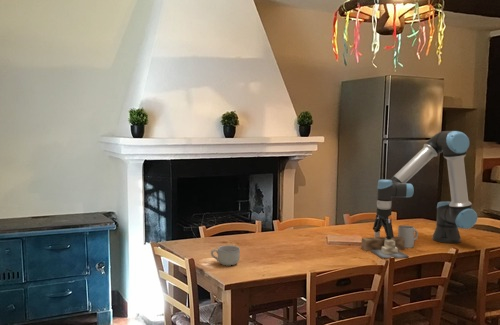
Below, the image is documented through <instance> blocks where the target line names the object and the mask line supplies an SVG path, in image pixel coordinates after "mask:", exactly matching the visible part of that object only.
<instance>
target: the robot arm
mask: <svg viewBox="0 0 500 325" xmlns="http://www.w3.org/2000/svg"><path fill="white" fill-rule="evenodd" d="M469 148H470V138H469V137H468V136H467V134H465V133H464V132H462V131H459V130H444V131H443V130H442V131H439V132H437V133H436V134H434V135H433V136H432V137H431V138H429V139H428V140H427V141H426V142H425V143H424V144H423V147H422V149H420V150H419V151H418V152H417V153H416V154H415V155H414V156H412V158H411V159H410V160H409V161H408V162H407V163H406V164H404V165H403V166H402V168H401V169H400V170H398V172H396V173H395V174H394V175H393V176H392V177H391V178H390V179H378V181H377V186H376V188H377V191H376V192H377V194H376V195H377V197H376V207H377V208H376V214H375V220H374V224H373V227H372V230H373V231H374V238H375V237H381V229H382V228H384V232H385V235H386V236H385V237H386V240H391V238H394V237H395V236H394V230H393V225H392V218H389V217H391V216H392V199H393V198H412V197H413V195H414V190H415V189H414V186H413V184H412V183H407V182H408V181H410V179H412V178H413V177H414V176H415V175H416V174H417V173H418V172H419V171H420V170H421V169H422V168H423V167H425V165H426V164H427V163H429V162H430V161H431V159H433V158H434V157H438V156H439V154H443V158H444V159H446V164H447V173H448V182H449V190H450V201H439V202H437V205H436V226H435V229H434V232H433V234H432V240H433V241H435V242H439V243H443V244H444V243H445V244H458V243H461V240H462V238H461V234H460V232H459V229H463V230H469V229H470V228H473V227H474V226H475V225H476V223H477V221H478V213H477V212H476V211H475V209H473V204H472V202H471V201H470V200H469V196H468V195H469V194H468V186H467V184H468V183H467V177H466V168H465V157H466V156H467V151H468V149H469Z"/></svg>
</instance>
